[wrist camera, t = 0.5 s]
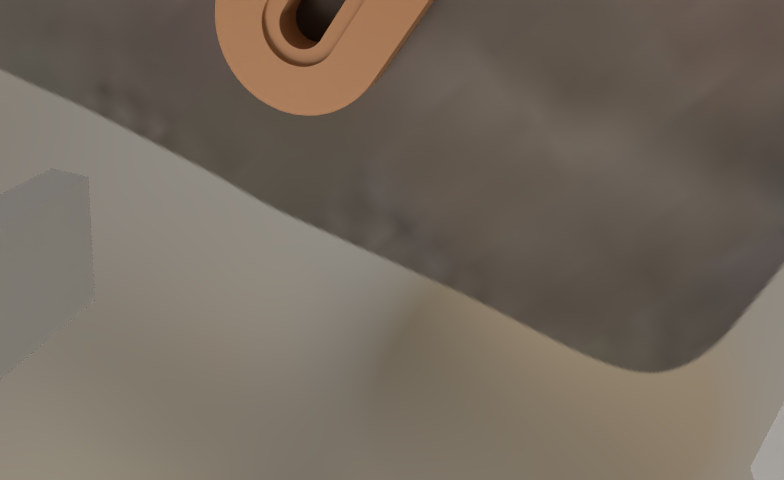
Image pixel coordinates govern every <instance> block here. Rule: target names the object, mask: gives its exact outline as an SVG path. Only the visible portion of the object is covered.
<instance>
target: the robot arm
mask: <svg viewBox="0 0 784 480" xmlns="http://www.w3.org/2000/svg"><path fill="white" fill-rule="evenodd" d="M93 301H95V293H94V273H93V254H92V235H91V217H90V197H89V179H88V177H86V176H82V175H78V174H73V173H69V172H65V171H61V170H56V169H50V170H47V171H45V172H44V173H42V174H40V175H38V176H36V177H34V178H32V179H30V180H28V181H26V182H24V183H22V184H20V185H18V186H16V187H14V188H13V189H10V190H8V191H6V192H4V193H3V194H0V380H1V379H2V378H3V377H4V376H6V375H7V374H8V373H9V372H10V371H11V370H13V369H14V368H15V367H16V366H17V365H19V364H20V363H21V362H22V361H23V360H24V359H26V358H27V357H28V356H29V355H30V354H32V353H33V352H34V351H35V350H36V349H38V348H39V347H40V346H41V345H42V344H44V343H45V342H46V341H47V340H48V339H49V338H51V337H52V336H53V335H54V334H55V333H56V332H58V331H59V330H60V329H61V328H62V327H64V326H65V325H66V324H67V323H68V322H69V321H71V320H72V319H73V318H74V317H76V316H77V315H78V314H79V313H80V312H82V311H83V310H84V309H85V308H86V307H87V306H88V305H90V304H91V303H92V302H93ZM750 468H751V472H752V474H753V477H754V480H784V403H783V405H782V407H781V409H780V411H779V413H778V415H777V417H776V419H775V421H774V423H773V425H772V427H771V428H770V431H769V432H768V434H767V436H766V438H765V440H764V442H763V444H762V446H761V448H760V450H759V452H758V454H757V456H756V458H755V459H754V461H753V463H752V465H751V467H750Z"/></svg>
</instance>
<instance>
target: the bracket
mask: <svg viewBox="0 0 784 480" xmlns="http://www.w3.org/2000/svg"><path fill="white" fill-rule="evenodd" d="M301 1H302V0H216V3H215V23H216V30H217V36H218V40H219V43H220V47H221V49H222V52H223V54H224V57H225V59H226V61H227V63H228V65H229V66H230V68H231V70H232V71H233V73H234V74H235V76H236V77H237V78H238V80H239V81H240V82H241V83H242V84H243V85H244V86H245V87H246V88H247V89H248V90H249V91H250V92H251V93H252V94H253V95H254V96H256V97H257V98H258V99H260V100H261V101H263V102H265V103H266V104H268V105H270V106H272V107H274V108H276V109H279V110H281V111H284V112H288V113H292V114H297V115H321V114H326V113H330V112H333V111H336V110H339V109H341V108H343V107H345V106H347V105H348V104H350V103H351V102H353V101H354V100H356V99H357V98H358V97H359V96H361V95H362V94H363V93H364V92H365V91H366V90H367V89H369V88H370V87H371V86H372V85H373V84H374V83H375V82H376V81H377V80H378V79H379V78H380V77H381V76H382V74H383V73H384V72H385V70H386V69H387V67H388V66H389V65H390V63H391V62H392V60H393V59H394V57H395V56H396V55H397V53H398V52H399V50H400V49H401V47H402V46H403V45H404V43H405V42H406V40H407V39H408V37H409V36H410V34H411V33H412V32H413V30H414V29H415V27H416V26H417V24H418V23H419V22H420V20H421V19H422V17H423V16H424V14H425V13H426V12H427V10H428V9H429V7H430V6H431V4H432V3H433V1H434V0H345V2H344V4H343V5H342V7H341V8H340V10H339V12H338V13H337V15H336V16H335V18H334V20H333V21H332V23H331V24H330V26H329V27H328V29H327V31H326V32H325V34H324V35H323V37H322V39H321V40H320V42H315V41H312V40H309V39H308V38H306V37H305V36H304V35H303V34H302V33H301V32H300V30H299V28H298V26H297V22H296V12H297V9H298V6H299V4H300V3H301Z"/></svg>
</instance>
